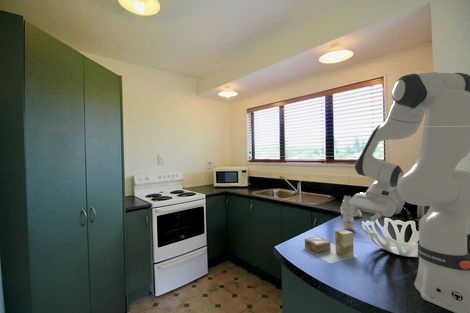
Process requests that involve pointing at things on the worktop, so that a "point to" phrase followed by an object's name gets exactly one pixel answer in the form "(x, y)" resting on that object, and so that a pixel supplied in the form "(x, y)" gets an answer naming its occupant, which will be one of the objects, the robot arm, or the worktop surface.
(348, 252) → the birch column
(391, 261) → the worktop surface
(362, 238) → the worktop surface
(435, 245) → the robot arm
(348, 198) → the grey statuette
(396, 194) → the vase
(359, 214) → the pale grey lumpy piece
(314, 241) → the walnut plinth
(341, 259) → the pale flat sheet
